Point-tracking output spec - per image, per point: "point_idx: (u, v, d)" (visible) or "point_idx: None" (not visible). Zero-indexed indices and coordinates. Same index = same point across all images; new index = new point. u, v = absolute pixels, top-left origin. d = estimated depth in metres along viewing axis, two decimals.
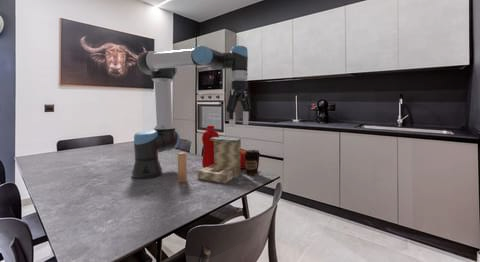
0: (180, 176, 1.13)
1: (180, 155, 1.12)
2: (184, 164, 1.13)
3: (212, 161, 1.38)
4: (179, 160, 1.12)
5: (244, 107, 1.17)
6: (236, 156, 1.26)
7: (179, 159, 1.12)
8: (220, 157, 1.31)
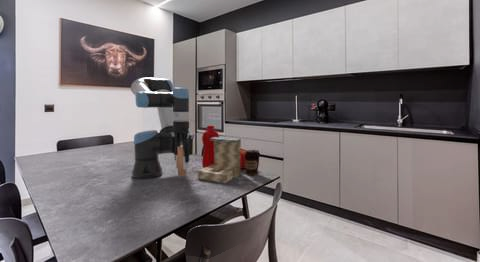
0: (180, 169, 1.13)
1: (180, 148, 1.12)
2: None
3: (212, 161, 1.38)
4: (179, 153, 1.12)
5: None
6: (236, 156, 1.26)
7: (179, 152, 1.12)
8: (220, 157, 1.31)
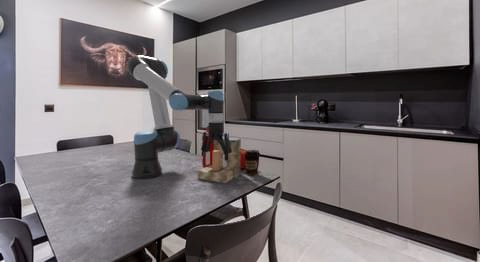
0: None
1: (215, 153, 1.17)
2: (218, 161, 1.18)
3: None
4: (214, 158, 1.18)
5: None
6: (236, 156, 1.26)
7: (214, 157, 1.17)
8: (220, 157, 1.31)
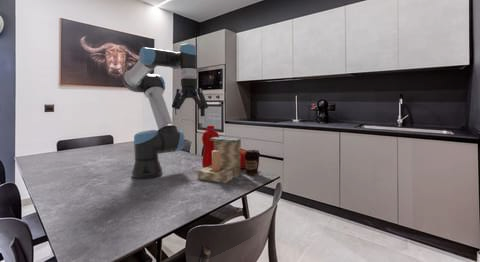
0: None
1: (214, 153, 1.17)
2: (218, 161, 1.18)
3: None
4: (213, 158, 1.18)
5: None
6: (236, 156, 1.26)
7: (213, 157, 1.18)
8: (220, 157, 1.31)
